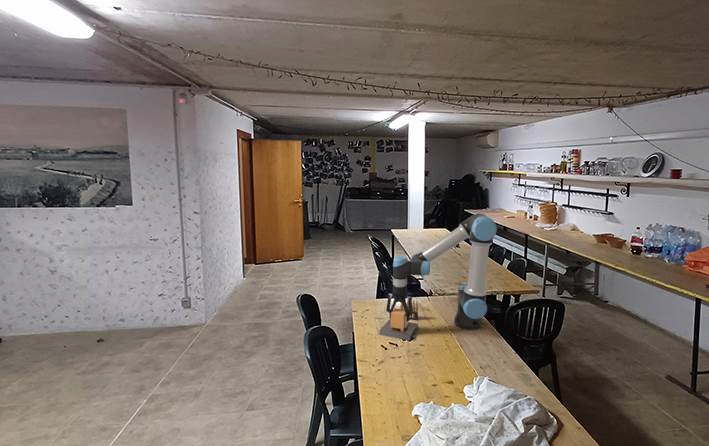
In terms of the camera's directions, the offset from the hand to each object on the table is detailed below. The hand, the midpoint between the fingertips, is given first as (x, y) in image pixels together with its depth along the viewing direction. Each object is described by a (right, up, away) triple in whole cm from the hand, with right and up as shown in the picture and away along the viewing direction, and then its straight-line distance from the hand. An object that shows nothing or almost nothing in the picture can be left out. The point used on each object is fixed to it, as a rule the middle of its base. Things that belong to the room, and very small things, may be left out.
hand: (399, 325), depth 216 cm
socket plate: (0, -3, +1) cm, 3 cm away
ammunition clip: (+8, -1, +18) cm, 19 cm away
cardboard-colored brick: (0, -2, 0) cm, 2 cm away
